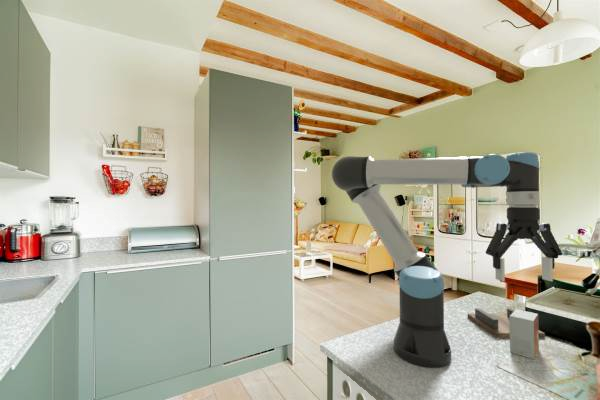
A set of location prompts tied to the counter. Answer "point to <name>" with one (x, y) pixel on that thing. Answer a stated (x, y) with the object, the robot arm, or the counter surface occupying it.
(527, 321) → the small box
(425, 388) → the counter surface
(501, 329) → the mounting plate
